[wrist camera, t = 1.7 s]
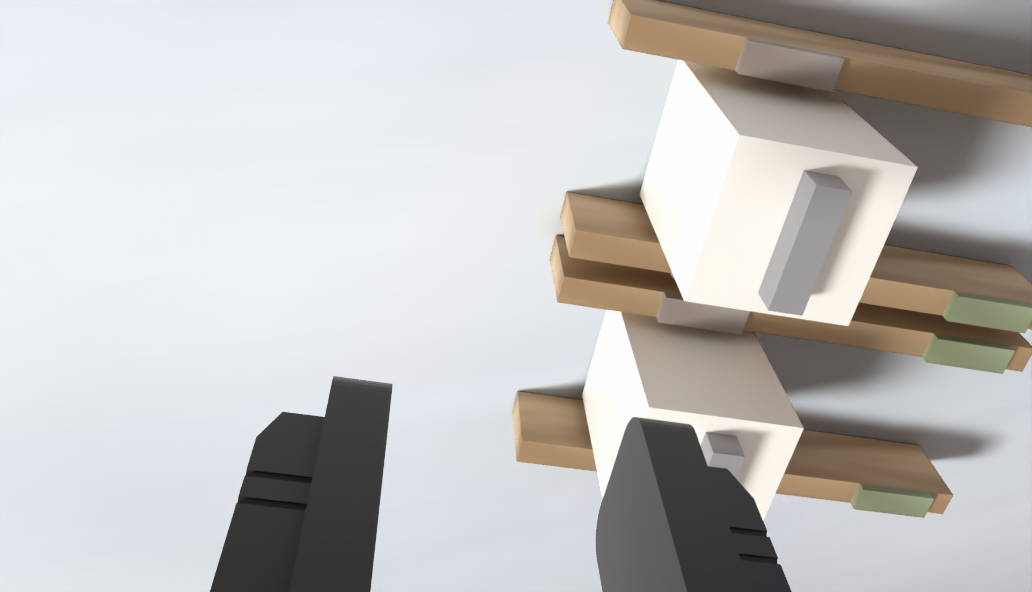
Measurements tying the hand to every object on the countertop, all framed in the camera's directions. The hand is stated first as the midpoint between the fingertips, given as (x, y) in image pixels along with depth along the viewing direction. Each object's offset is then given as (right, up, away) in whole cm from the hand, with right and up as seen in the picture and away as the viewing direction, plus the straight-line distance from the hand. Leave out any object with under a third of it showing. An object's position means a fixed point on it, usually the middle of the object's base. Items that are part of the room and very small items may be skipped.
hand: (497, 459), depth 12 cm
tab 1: (+6, +6, +14) cm, 17 cm away
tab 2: (+5, 0, +17) cm, 18 cm away
